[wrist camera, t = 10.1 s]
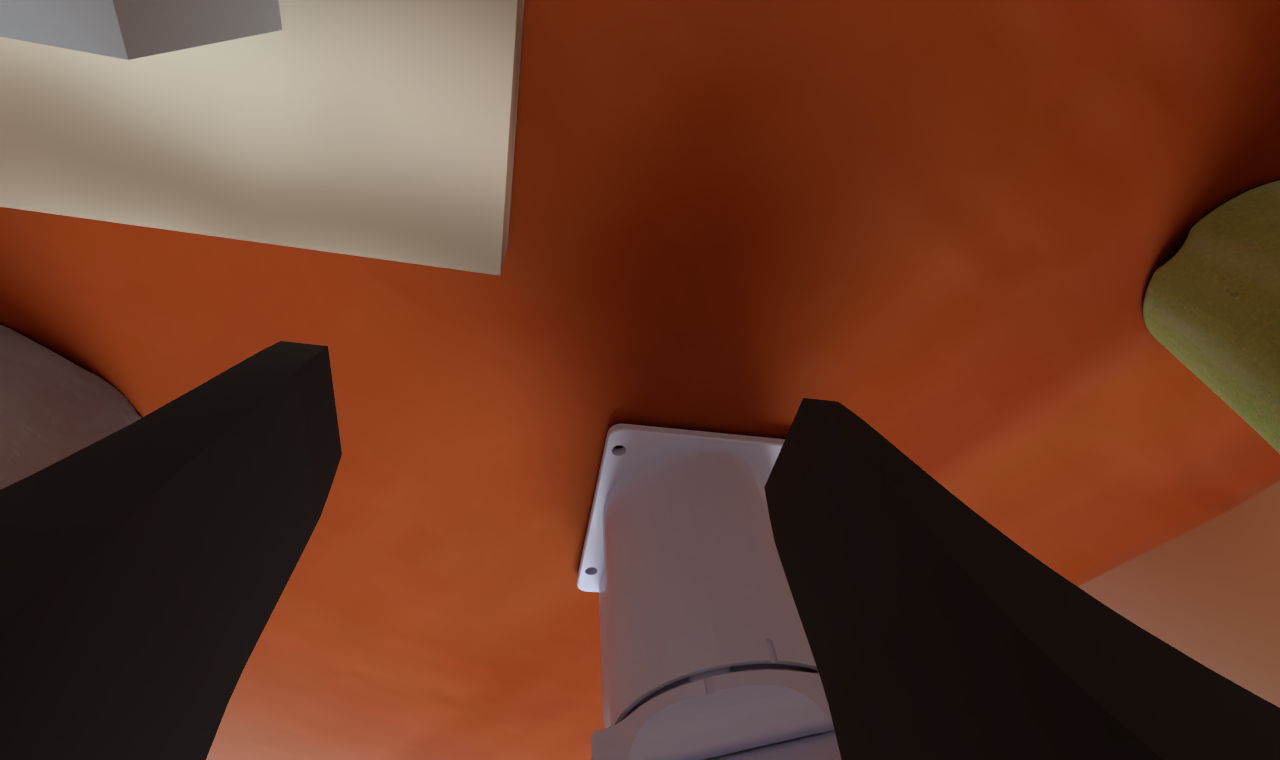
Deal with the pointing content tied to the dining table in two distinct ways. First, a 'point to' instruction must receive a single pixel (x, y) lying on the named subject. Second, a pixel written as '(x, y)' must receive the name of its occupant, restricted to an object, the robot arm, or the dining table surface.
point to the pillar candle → (50, 407)
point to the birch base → (285, 132)
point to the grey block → (135, 23)
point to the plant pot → (1227, 306)
